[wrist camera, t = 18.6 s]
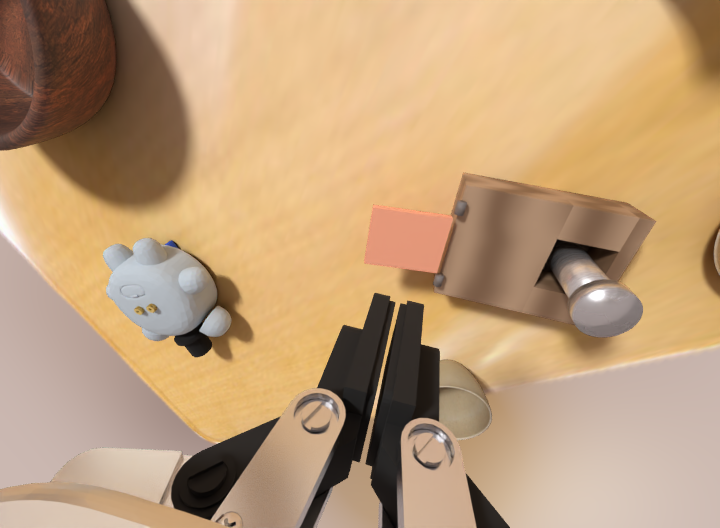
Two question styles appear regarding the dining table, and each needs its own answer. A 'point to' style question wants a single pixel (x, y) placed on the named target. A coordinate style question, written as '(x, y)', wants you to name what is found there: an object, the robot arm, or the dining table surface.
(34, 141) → the wooden bowl
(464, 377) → the beige bowl
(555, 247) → the pin
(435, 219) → the plate
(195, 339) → the figurine
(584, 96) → the dining table surface
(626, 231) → the block
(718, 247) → the plant saucer
